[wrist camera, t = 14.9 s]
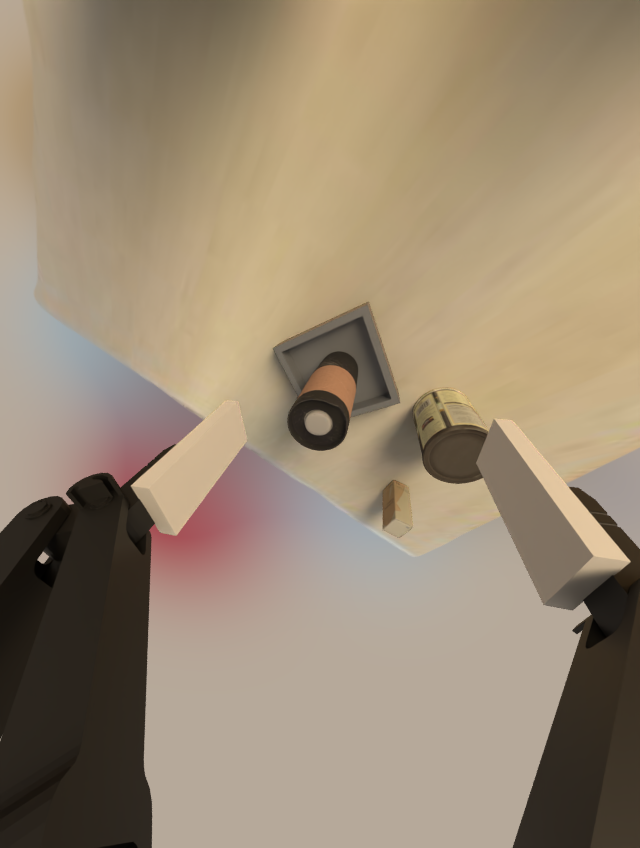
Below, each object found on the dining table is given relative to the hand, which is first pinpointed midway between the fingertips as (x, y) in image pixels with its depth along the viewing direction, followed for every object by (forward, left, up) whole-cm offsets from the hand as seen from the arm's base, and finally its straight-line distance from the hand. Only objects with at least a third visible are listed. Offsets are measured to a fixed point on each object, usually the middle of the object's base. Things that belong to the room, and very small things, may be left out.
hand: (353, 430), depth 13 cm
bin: (+6, -8, -34) cm, 36 cm away
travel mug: (+6, -8, -33) cm, 35 cm away
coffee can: (+21, +7, -34) cm, 41 cm away
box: (+39, -7, -34) cm, 52 cm away
